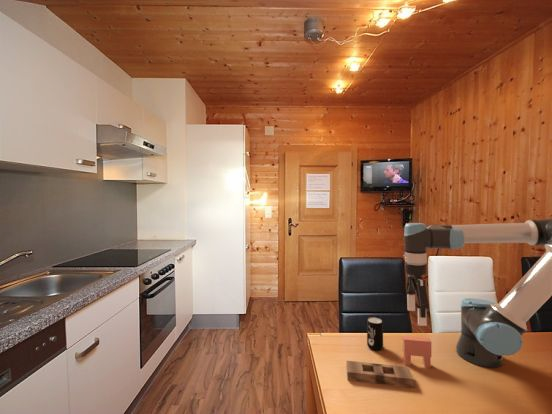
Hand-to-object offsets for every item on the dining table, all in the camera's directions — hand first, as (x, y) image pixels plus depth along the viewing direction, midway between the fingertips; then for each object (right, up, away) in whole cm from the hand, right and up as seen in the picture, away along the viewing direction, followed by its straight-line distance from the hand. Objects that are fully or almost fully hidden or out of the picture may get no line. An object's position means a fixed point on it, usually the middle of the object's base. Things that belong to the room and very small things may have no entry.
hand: (416, 317), depth 105 cm
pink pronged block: (0, -19, +1) cm, 19 cm away
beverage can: (-11, -19, +13) cm, 25 cm away
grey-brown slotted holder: (-17, -19, -7) cm, 27 cm away
